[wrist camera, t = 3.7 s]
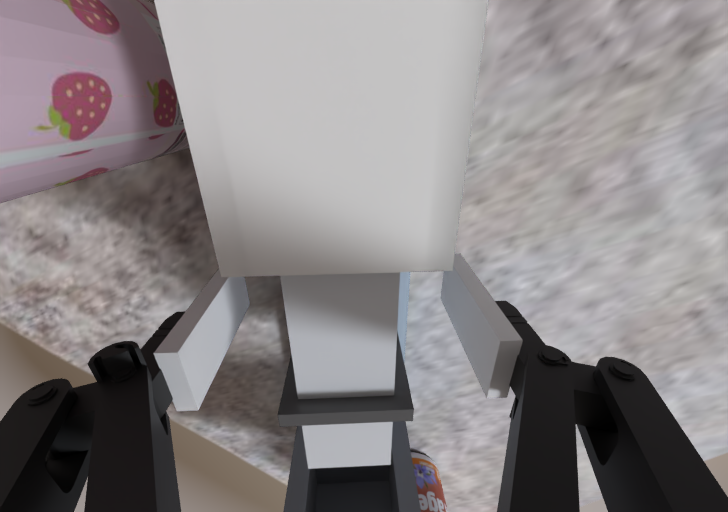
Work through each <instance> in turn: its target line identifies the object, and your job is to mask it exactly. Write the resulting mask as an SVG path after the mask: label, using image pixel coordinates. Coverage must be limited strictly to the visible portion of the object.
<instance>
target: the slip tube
mask: <svg viewBox="0 0 728 512" xmlns="http://www.w3.org/2000/svg"><path fill="white" fill-rule="evenodd" d="M280 279H281V286H282V293H283V300H284V306H285V313H286V320H287V327H288V334H289V341H290V348H291V358H290V363H289V367H288V371H287V376H286V380H285V385H284V389H283V394H282V398H281V402H280V407H279V411H278V420H279V425H280V427H286V426H302V430H303V437H304V443H305V450H306V457H307V464H308V469H313V468H334V467H355V466H375V465H391V447H392V427H393V422H399V421H413V412H414V408H413V404H412V399H411V394H410V389H409V384H408V379H407V375H406V370H405V365H404V360H403V355H402V351H401V346H400V341H399V336H398V331H397V326H398V306H399V286H400V272H396V273H360V274H324V275H287V276H280Z"/></svg>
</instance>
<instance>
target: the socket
mask: <svg viewBox="0 0 728 512" xmlns="http://www.w3.org/2000/svg"><path fill="white" fill-rule="evenodd" d="M284 512H421V508H420V502H419V496H418V491H417V485H416V479H415V474H414V468H413V462H412V456H411V451H410V445H409V439H408V433H407V428H406V422H405V421H399V422H393V427H392V447H391V465H375V466H355V467H334V468H313V469H308V464H307V457H306V450H305V443H304V437H303V430H302V426H297V430H296V436H295V443H294V449H293V455H292V462H291V468H290V474H289V480H288V487H287V493H286V499H285V506H284Z"/></svg>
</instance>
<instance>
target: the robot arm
mask: <svg viewBox="0 0 728 512" xmlns="http://www.w3.org/2000/svg"><path fill="white" fill-rule="evenodd" d="M441 300H442V302H443V304H444V307H445V309H446V311H447V313H448V315H449V317H450V320H451V322H452V324H453V326H454V328H455V330H456V333H457V335H458V337H459V339H460V341H461V343H462V346H463V348H464V350H465V352H466V354H467V356H468V359H469V361H470V363H471V365H472V367H473V370H474V372H475V374H476V376H477V378H478V380H479V383H480V385H481V387H482V389H483V391H484V393H485V396H486V398H506V397H507V395H508V392H509V388H510V386H511V388H512V390H513V392H514V394H515V395H516V397H515V400H514V403H513V407H512V410H511V413H510V418H511V423H510V430H509V437H508V443H507V450H506V457H505V463H504V470H503V476H502V483H501V490H500V496H499V503H498V509H497V512H579V490H578V469H577V448H576V427H575V424H577V426H578V429H579V432H580V434H581V437H582V440H583V443H584V445H585V448H586V451H587V454H588V457H589V459H590V462H591V465H592V468H593V471H594V473H595V476H596V479H597V482H598V485H599V487H600V490H601V493H602V496H603V499H604V501H605V504H606V507H607V510H608V512H728V497H727V495H726V494H725V492H724V491H723V489H722V488H721V486H720V485H719V484H718V482H717V481H716V479H715V478H714V476H713V475H712V473H711V472H710V470H709V469H708V467H707V466H706V464H705V463H704V461H703V460H702V458H701V457H700V455H699V454H698V452H697V451H696V449H695V448H694V446H693V445H692V443H691V442H690V440H689V439H688V437H687V436H686V434H685V433H684V431H683V430H682V428H681V427H680V425H679V424H678V422H677V421H676V419H675V418H674V416H673V415H672V413H671V412H670V410H669V409H668V407H667V406H666V404H665V403H664V401H663V400H662V398H661V397H660V395H659V394H658V393H657V391H656V390H655V388H654V387H653V385H652V384H651V382H650V381H649V379H648V378H647V376H646V375H645V374H644V373H643V372H642V371H641V370H640V369H639V368H637V367H636V366H635V365H633V364H631V363H629V362H627V361H625V360H622V359H618V358H615V357H604V358H601V359H600V360H599V361H598V363H597V366H596V367H595V366H590V365H585V364H580V363H575V362H571V359H570V358H569V357H568V356H567V355H566V354H565V353H563V352H562V351H560V350H559V349H556V348H554V347H551V346H547V345H545V344H544V342H543V341H542V340H541V339H540V337H539V336H538V335H537V334H536V332H535V331H534V330H533V329H532V327H531V326H530V325H529V324H527V321H526V320H525V319H524V317H522V315H521V314H520V312H519V311H518V310H517V309H516V307H514V306H513V305H511V304H510V303H508V302H507V301H494V299H493V298H492V297H491V295H490V294H489V293H488V291H487V290H486V288H485V287H484V286H483V284H482V283H481V281H480V280H479V279H478V277H477V276H476V275H475V273H474V272H473V270H472V269H471V268H470V266H469V265H468V263H467V262H466V261H465V259H464V258H463V257H462V255H461V254H455V256H454V263H453V271H444V274H443V282H442V290H441ZM249 305H250V301H249V296H248V291H247V286H246V282H245V277H221V274H220V270H219V269H218V270H217V272H216V273H215V274H214V275H213V277H212V278H211V279H210V281H209V282H208V283H207V285H206V286H205V287H204V288H203V290H202V291H201V292H200V294H199V295H198V296H197V298H196V299H195V300H194V301H193V303H192V304H191V305H190V307H189V308H188V309H187V310H186V312H176V313H174V314H173V315H172V316H170V317H169V318H167V319H166V320H165V321H164V322H163V323H162V324H161V326H160V327H159V328H158V330H156V332H155V333H154V334H153V335H152V337H151V338H150V339H149V340H148V341H147V342H146V344H145V345H144V346H143V347H142V348H141V350H140V348H139V346H138V344H137V343H135V342H133V341H123V342H119V343H115V344H112V345H110V346H107V347H105V348H103V349H102V350H100V351H99V352H97V353H96V354H95V355H94V356H93V357H92V358H91V359H90V361H89V363H88V366H89V367H90V369H91V371H92V373H93V375H94V377H95V379H96V380H97V382H95V383H91V384H87V385H83V386H80V387H76V388H73V387H72V386H71V384H70V382H69V381H68V380H66V379H62V378H61V379H53V380H50V381H46V382H44V383H41V384H38V385H36V386H35V387H33V388H31V389H30V390H28V391H27V392H25V393H24V394H22V395H21V396H20V397H19V398H18V399H17V400H16V401H15V403H14V404H13V405H12V407H11V408H10V409H9V411H8V412H7V413H6V415H5V416H4V417H3V419H2V420H1V421H0V512H74V510H75V508H76V505H77V503H78V500H79V497H80V495H81V492H82V490H83V487H84V485H85V482H86V480H87V477H88V482H87V492H86V502H85V511H84V512H181V507H180V499H179V491H178V483H177V476H176V468H175V460H174V452H173V444H172V437H171V429H170V421H169V416H168V414H167V412H166V410H167V408H168V407H169V405H170V403H171V402H172V401H173V403H174V406H175V408H176V411H195V410H199V408H200V406H201V404H202V402H203V400H204V398H205V396H206V394H207V392H208V389H209V387H210V385H211V383H212V381H213V379H214V377H215V375H216V373H217V371H218V369H219V367H220V365H221V363H222V361H223V359H224V356H225V354H226V352H227V350H228V348H229V346H230V344H231V342H232V340H233V338H234V336H235V334H236V332H237V330H238V328H239V326H240V323H241V321H242V319H243V317H244V315H245V313H246V311H247V309H248V307H249Z"/></svg>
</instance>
